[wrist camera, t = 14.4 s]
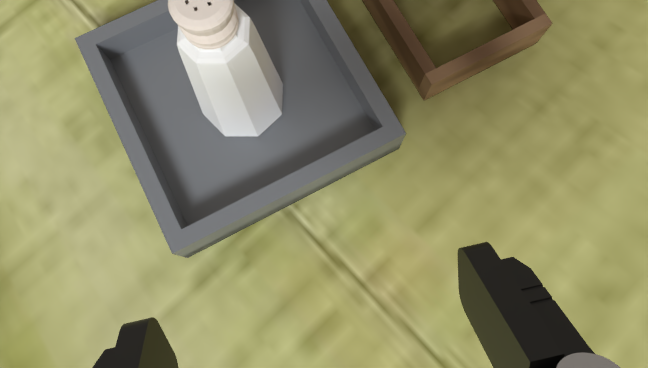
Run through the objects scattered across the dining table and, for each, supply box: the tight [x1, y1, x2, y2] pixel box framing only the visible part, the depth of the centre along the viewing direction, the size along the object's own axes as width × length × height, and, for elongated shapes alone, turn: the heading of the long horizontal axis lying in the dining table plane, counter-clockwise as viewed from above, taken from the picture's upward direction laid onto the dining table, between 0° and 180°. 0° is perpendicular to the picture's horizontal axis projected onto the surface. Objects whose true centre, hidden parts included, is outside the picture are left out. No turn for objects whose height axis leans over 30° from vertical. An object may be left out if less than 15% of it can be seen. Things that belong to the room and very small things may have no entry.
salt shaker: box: [168, 0, 283, 136], centre depth 26 cm, size 5×5×11 cm
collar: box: [362, 0, 552, 100], centre depth 32 cm, size 9×9×2 cm
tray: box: [75, 0, 406, 258], centre depth 31 cm, size 15×15×3 cm
